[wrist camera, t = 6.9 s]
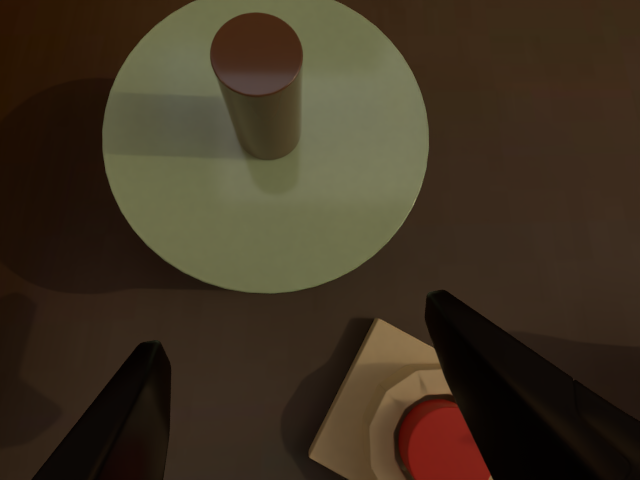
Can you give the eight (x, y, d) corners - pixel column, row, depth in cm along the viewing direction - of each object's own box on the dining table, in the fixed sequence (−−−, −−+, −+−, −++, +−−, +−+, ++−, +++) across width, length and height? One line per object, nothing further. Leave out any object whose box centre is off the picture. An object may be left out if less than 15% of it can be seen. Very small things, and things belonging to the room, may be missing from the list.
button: (491, 423, 20) (509, 433, 19) (457, 501, 20) (473, 520, 18) (419, 383, 21) (430, 390, 19) (383, 460, 20) (391, 474, 18)
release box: (532, 403, 23) (566, 416, 20) (473, 543, 22) (501, 580, 19) (374, 317, 23) (385, 318, 21) (307, 451, 22) (309, 473, 19)
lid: (445, 44, 19) (515, -82, 13) (387, 328, 17) (440, 339, 11) (167, -25, 19) (103, -187, 13) (71, 252, 16) (-62, 219, 10)
